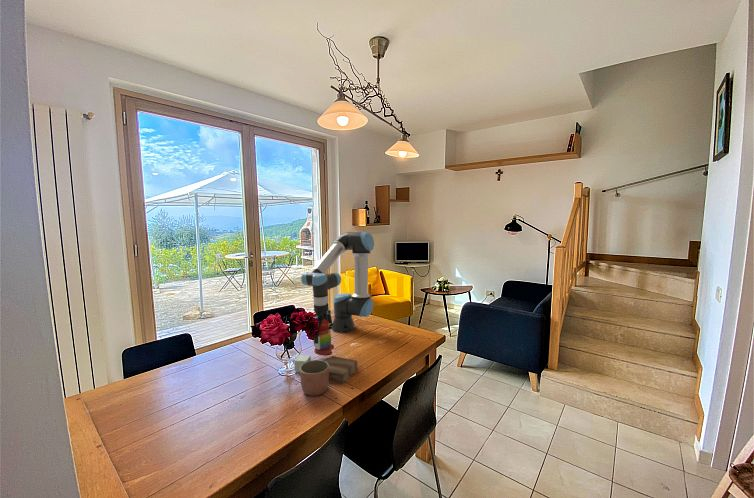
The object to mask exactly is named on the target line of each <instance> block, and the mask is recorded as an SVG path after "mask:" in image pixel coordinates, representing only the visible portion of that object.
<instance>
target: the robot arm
mask: <svg viewBox="0 0 754 498" xmlns="http://www.w3.org/2000/svg"><path fill="white" fill-rule="evenodd" d="M374 247H375V240H374V237H373V235H372V234H371V233H370V232H365V231H348V232H347V231H346V232H344V233H343V234H341V235H339V236H337V238H335V240H333V241H332V242H331V246H330V248H328V250H327V251H326V252H325V253H324V254H323V256H322V257H321V258H320V259H319V261H318V262H317V263H316V264H315V265H314V266H313V268H311V269H310V271H304V272H303V273H302V274H301V277H300V280H301V281H300V282H301V283H302V284H303V285H304V286H308V287H312V293H313V294H312V297H313V312H314V313H315V316H314V318H315V319H316V320H318V321H320V322H319V332H320V327H321V324H322V322H323V320H324V319H326V320H327V321H328V322H329V323H330V326H329V328H328V329H329V331H330V335H331V330H332V331H333V332H334V333H335V332H336V333H348V332H351V331H354V330H355V329H356V325H355V321H354V318H353V316H357V317H361V318H362V317H364V318H368V317H369V316H370V315H371V313H372V312H373V310H374V304H375V303H374V300H373V299H372V298H371V294H370V293H369V286H368V285H369V255H370V254H371V251H374ZM346 251H351V254H352V255H353V256H354V280H353V281H354V287H353V288H354V289H353V290H354V292H353V294H352V293H350V292H348V293H347V292H346V293H340V294H337V295H335V296H334V297H333V316H334V318H333V320H332V315H331V314H332V313H331V310H330V309H329V293H328V290H331V289H333V288H336V287H338V286H339V285H341V283H342V277H341V275H340V274H339V273H337V272H332V273H328V271H329V269H330V268H331V267H332V265H333V264H335V262H336V260H337V259H338V258H339V257H340V256H341V254H344V253H345V252H346ZM319 332H318V333H317V335H316V337H315V338H314V342H313V344H314V343H315V346H314V350H315V349H320V337H318V336H319ZM331 336H332V335H331Z"/></svg>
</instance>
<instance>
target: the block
mask: <svg viewBox="0 0 754 498" xmlns="http://www.w3.org/2000/svg"><path fill="white" fill-rule="evenodd" d="M311 359H312V357H311V355H309V354H308V355H305V354H304V355H302V354H299V355H297V357H296V358H295V359H294V361H293V364H294V365H293V366H294V372H295V371H296V372H295V373H299V374H300V367H301V365H302V364H304V363H306V362H308V361H312V360H311Z"/></svg>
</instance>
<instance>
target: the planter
mask: <svg viewBox="0 0 754 498" xmlns="http://www.w3.org/2000/svg"><path fill="white" fill-rule="evenodd" d="M326 361H327V360H321V359H312V360H311V361H308V362H306V363H304V364H302V365H301V367H300V373H299V374H300V375H299V376H300V377H299V379H300V386H301V389H302V391H303V393H304V394H306V395H307V396H311V397H314V396H315V397H316V396H320V395H321V394H324V393H325V392H326V391H327V390H328V388H329V385H330V381H329V364H328V363H327V362H326Z"/></svg>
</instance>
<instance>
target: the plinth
mask: <svg viewBox="0 0 754 498" xmlns="http://www.w3.org/2000/svg"><path fill="white" fill-rule="evenodd" d="M325 361H326V362H327V363H328V364H329V382H332V383H336V384H340V385H345V383H346V382H347V381H348V380H349V379H350V378H351V377H352V376H353V374H354V373H355V372H356V371H357V370H358V360H356V359H351V358H345V357H339V356H335V355H334V356H333V355H330V357H329V358H328V359H327V360H325Z"/></svg>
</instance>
